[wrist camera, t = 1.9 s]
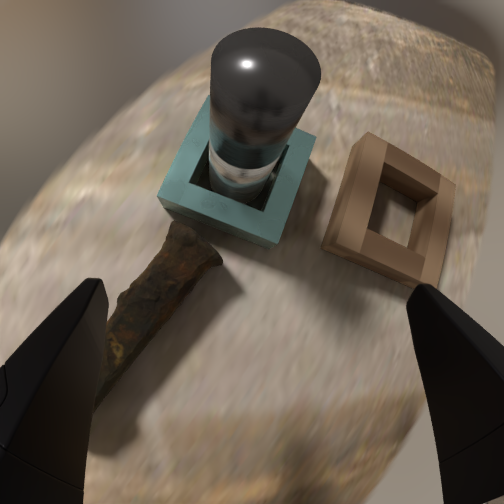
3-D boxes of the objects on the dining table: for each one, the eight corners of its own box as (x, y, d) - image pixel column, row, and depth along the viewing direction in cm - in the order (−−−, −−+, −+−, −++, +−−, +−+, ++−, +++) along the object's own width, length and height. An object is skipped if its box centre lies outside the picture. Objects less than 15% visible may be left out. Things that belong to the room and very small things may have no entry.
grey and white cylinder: (252, 212, 23) (303, 124, 10) (200, 192, 22) (191, 83, 9) (271, 164, 23) (331, 51, 10) (221, 145, 23) (237, 16, 10)
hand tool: (182, 223, 22) (175, 207, 18) (225, 261, 22) (228, 254, 18) (40, 403, 19) (12, 421, 15) (76, 437, 19) (53, 462, 15)
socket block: (269, 249, 22) (277, 243, 20) (163, 207, 22) (156, 195, 19) (304, 153, 24) (316, 136, 21) (208, 115, 23) (208, 94, 20)
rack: (414, 289, 24) (436, 288, 21) (320, 248, 23) (335, 242, 20) (435, 193, 25) (455, 184, 22) (351, 146, 24) (367, 131, 21)
